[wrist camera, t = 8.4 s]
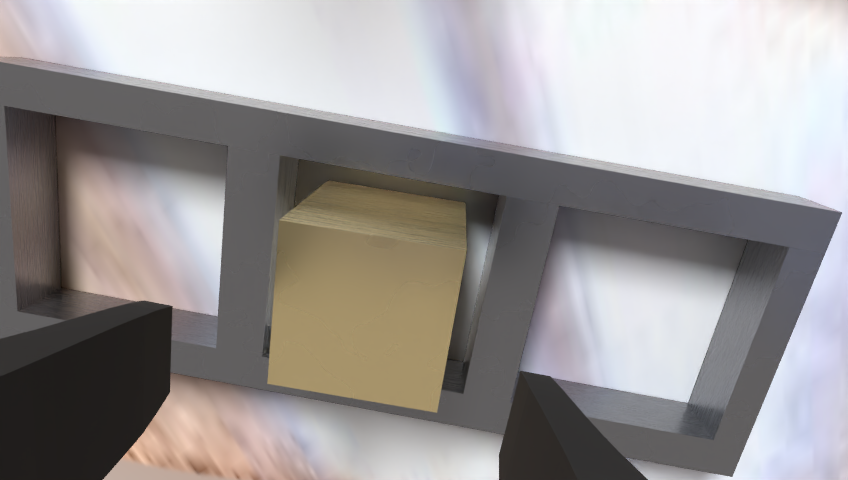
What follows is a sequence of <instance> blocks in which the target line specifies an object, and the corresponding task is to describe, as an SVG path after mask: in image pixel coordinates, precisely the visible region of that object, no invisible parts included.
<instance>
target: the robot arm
mask: <svg viewBox="0 0 848 480" xmlns="http://www.w3.org/2000/svg"><path fill="white" fill-rule="evenodd" d="M171 338H172V306H169V305H164V304H159V303H153V302H148V301H139V302H133V303H128V304H124V305H120V306H116V307H112V308H108V309H105V310H101V311H98V312H94V313H91V314H87V315H84V316H80V317H77V318H74V319H70V320H67V321H63V322H60V323H56V324H53V325H49V326H46V327H43V328H39V329H36V330H32V331H28V332H24V333H20V334H16V335H13V336H9V337H5V338H1V339H0V480H102V479H104V477H105V476H106V475H107V474H108V473H109V472H110V471H111V470H112V468H113V467H114V466H115V465H116V464H117V463H118V462H119V460H120V459H121V458H122V457H123V456H124V455H125V453H126V452H127V451H128V450H129V449H130V448H131V447H132V445H133V444H134V443H135V442H136V441H137V440H138V438H139V437H140V436H141V435H142V434H143V432H144V431H145V429H146V428H147V426H148V425H149V424H150V422H151V421H152V419H153V418H154V416H155V415H156V413H157V412H158V410H159V408H160V407H161V405H162V404H163V402H164V401H165V399H166V397H167V396H168V394H169V393H170V371H171ZM499 480H648V479H646V478H645V477H644V476H643V475H642V474H641V473H640V472H639V471H638V470H637V469H636V468H635V467H634V466H633V465H632V464H631V463H630V462H629V461H628V460H627V459H626V458H625V457H624V456H623V455H622V454H621V453H620V452H619V451H618V450H617V449H616V448H615V447H614V446H613V445H612V444H611V443H610V442H609V441H608V440H607V439H606V438H605V437H604V436H603V434H602V433H601V432H600V431H599V430H598V429H597V428H596V427H595V426H594V425H593V424H592V422H591V421H590V420H589V419H588V418H587V417H586V416H585V415H584V413H583V412H582V411H581V410H580V409H579V408H578V407H577V405H576V404H575V403H574V402H573V401H572V400H571V399H570V397H569V396H568V395H567V394H566V393H565V392H564V391H563V389H562V388H561V387H560V386H559V385H558V384H557V383H556V382H555V381H554V380H553V379H552V378H551V377H550V376H545V375H540V374H534V373H529V372H523V371H520V375H519V378H518V382H517V386H516V390H515V394H514V398H513V402H512V406H511V410H510V414H509V418H508V422H507V426H506V430H505V434H504V438H503V442H502V446H501V450H500V453H499Z"/></svg>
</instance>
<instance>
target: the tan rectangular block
mask: <svg viewBox="0 0 848 480" xmlns="http://www.w3.org/2000/svg"><path fill="white" fill-rule="evenodd" d="M466 253H467V236H466V203H465V202H459V201H453V200H447V199H441V198H435V197H429V196H422V195H416V194H410V193H404V192H398V191H392V190H385V189H379V188H373V187H367V186H361V185H355V184H349V183H342V182H336V181H330V180H328V181H327V182H325V183H324V184H323V185H322V186H320V187H319V188H318V189H317V190H315V191H314V192H313V193H312V194H311V195H309V196H308V197H307V198H306V199H304V200H303V201H302V202H301V203H299V204H298V205H297V206H296V207H295V208H293V209H292V210H291V211H290V212H288V213H287V214H286V215H285V216H283V217H282V218H281V219H280V220H279V229H278V243H277V257H276V271H275V285H274V299H273V312H272V326H271V340H270V354H269V368H268V382H267V384H272V385H278V386H283V387H289V388H295V389H301V390H307V391H313V392H319V393H325V394H330V395H336V396H342V397H348V398H354V399H360V400H366V401H371V402H377V403H383V404H389V405H395V406H401V407H407V408H413V409H418V410H424V411H430V412H436V413H437V410H438V405H439V399H440V394H441V388H442V383H443V378H444V372H445V367H446V361H447V356H448V350H449V345H450V340H451V334H452V329H453V323H454V318H455V313H456V307H457V302H458V296H459V291H460V285H461V280H462V275H463V269H464V264H465V258H466Z"/></svg>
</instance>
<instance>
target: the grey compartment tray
mask: <svg viewBox="0 0 848 480" xmlns="http://www.w3.org/2000/svg"><path fill="white" fill-rule="evenodd" d="M55 115H58V116H64V117H69V118H75V119H80V120H86V121H92V122H97V123H103V124H108V125H114V126H119V127H125V128H130V129H136V130H142V131H147V132H153V133H158V134H164V135H169V136H175V137H180V138H186V139H192V140H197V141H203V142H208V143H214V144H219V145H225V146H228V155H227V172H226V189H225V206H224V223H223V240H222V257H221V274H220V291H219V308H218V317H217V316H211V315H206V314H200V313H195V312H190V311H184V310H179V309H173V308H172V338H171V371H170V372H171V373H176V374H181V375H187V376H192V377H198V378H203V379H208V380H214V381H219V382H224V383H230V384H235V385H241V386H246V387H251V388H257V389H262V390H268V391H273V392H278V393H284V394H289V395H294V396H300V397H305V398H311V399H316V400H321V401H327V402H332V403H337V404H343V405H348V406H354V407H359V408H364V409H370V410H375V411H381V412H386V413H391V414H397V415H402V416H407V417H413V418H418V419H424V420H429V421H434V422H440V423H445V424H451V425H456V426H461V427H467V428H472V429H477V430H483V431H488V432H494V433H499V434H505V430H506V426H507V422H508V418H509V414H510V410H511V406H512V402H513V398H514V394H515V390H516V386H517V382H518V378H519V375H520V372H518V369H519V365H520V361H521V357H522V353H523V349H524V345H525V341H526V337H527V333H528V329H529V325H530V321H531V317H532V313H533V309H534V305H535V301H536V297H537V293H538V289H539V285H540V281H541V277H542V274H543V270H544V266H545V262H546V258H547V254H548V250H549V246H550V242H551V238H552V234H553V230H554V226H555V222H556V218H557V214H558V210H559V206H564V207H569V208H575V209H580V210H586V211H591V212H597V213H603V214H608V215H614V216H619V217H625V218H630V219H636V220H641V221H647V222H653V223H658V224H664V225H669V226H675V227H680V228H686V229H691V230H697V231H703V232H708V233H714V234H719V235H725V236H730V237H736V238H741V239H747V240H748V243H747V245H746V248H745V251H744V253H743V256H742V259H741V262H740V264H739V267H738V270H737V272H736V275H735V278H734V281H733V283H732V286H731V289H730V291H729V294H728V297H727V300H726V302H725V305H724V308H723V311H722V313H721V316H720V319H719V321H718V324H717V327H716V330H715V332H714V335H713V338H712V340H711V343H710V346H709V349H708V351H707V354H706V357H705V359H704V362H703V365H702V368H701V370H700V373H699V376H698V379H697V381H696V384H695V387H694V389H693V392H692V395H691V398H690V400H689V403H684V402H678V401H673V400H667V399H662V398H657V397H651V396H646V395H640V394H635V393H629V392H624V391H619V390H613V389H608V388H602V387H597V386H591V385H586V384H581V383H575V382H570V381H564V380H559V379H553V378H552V379H553V380H554V381H555V382H556V383H557V384H558V385H559V386H560V387H561V388H562V389H563V391H564V392H565V393H566V394H567V395H568V396H569V397H570V399H571V400H572V401H573V402H574V403H575V404H576V405H577V407H578V408H579V409H580V410H581V411H582V412H583V413H584V415H585V416H586V417H587V418H588V419H589V420H590V421H591V422H592V424H593V425H594V426H595V427H596V428H597V429H598V430H599V431H600V432H601V433H602V434H603V436H604V437H605V438H606V439H607V440H608V441H609V442H610V443H611V444H612V445H613V446H614V447H615V448H616V449H617V450H618V451H619V452H620V453H621V454H622V455H623V456H624V457H628V458H634V459H639V460H644V461H650V462H655V463H660V464H666V465H671V466H677V467H682V468H687V469H693V470H698V471H704V472H709V473H714V474H720V475H725V476H730V477H732V476H733V474H734V471H735V469H736V466H737V464H738V462H739V459H740V457H741V454H742V452H743V450H744V447H745V445H746V442H747V440H748V438H749V435H750V433H751V430H752V428H753V426H754V423H755V421H756V418H757V416H758V414H759V411H760V409H761V406H762V404H763V402H764V399H765V397H766V394H767V392H768V390H769V387H770V385H771V382H772V380H773V378H774V375H775V373H776V370H777V368H778V365H779V363H780V361H781V358H782V356H783V353H784V351H785V349H786V346H787V344H788V341H789V339H790V337H791V334H792V332H793V329H794V327H795V325H796V322H797V320H798V317H799V315H800V313H801V310H802V308H803V305H804V303H805V301H806V298H807V296H808V293H809V291H810V289H811V286H812V284H813V281H814V279H815V277H816V274H817V272H818V269H819V267H820V265H821V262H822V260H823V257H824V255H825V253H826V250H827V248H828V245H829V243H830V241H831V238H832V236H833V233H834V231H835V229H836V226H837V224H838V221H839V219H840V216H841V214H842V212H839V211H837V210H834V209H831V208H829V207H826V206H823V205H821V204H818V203H815V202H812V201H810V200H807V199H804V198H802V197H799V196H793V195H788V194H782V193H777V192H771V191H765V190H760V189H754V188H749V187H743V186H737V185H732V184H726V183H721V182H715V181H709V180H704V179H698V178H693V177H687V176H681V175H676V174H670V173H665V172H659V171H654V170H648V169H642V168H637V167H631V166H626V165H620V164H614V163H609V162H603V161H598V160H592V159H586V158H581V157H575V156H570V155H564V154H558V153H553V152H547V151H542V150H536V149H530V148H525V147H519V146H514V145H508V144H502V143H497V142H491V141H486V140H480V139H475V138H469V137H463V136H458V135H452V134H447V133H441V132H435V131H430V130H424V129H419V128H413V127H407V126H402V125H396V124H391V123H385V122H379V121H374V120H368V119H363V118H357V117H351V116H346V115H340V114H335V113H329V112H323V111H318V110H312V109H307V108H301V107H296V106H290V105H284V104H279V103H273V102H268V101H262V100H256V99H251V98H245V97H240V96H234V95H228V94H223V93H217V92H212V91H206V90H200V89H195V88H189V87H184V86H178V85H172V84H167V83H161V82H156V81H150V80H144V79H139V78H133V77H128V76H122V75H117V74H111V73H105V72H100V71H94V70H89V69H83V68H77V67H72V66H66V65H61V64H55V63H49V62H44V61H38V60H33V59H27V58H20V57H0V339H1V338H5V337H9V336H13V335H16V334H20V333H24V332H28V331H32V330H36V329H39V328H43V327H46V326H49V325H53V324H56V323H60V322H63V321H67V320H70V319H74V318H77V317H80V316H84V315H87V314H91V313H94V312H98V311H101V310H105V309H108V308H112V307H116V306H120V305H124V304H128V303H133V302H135V301H130V300H124V299H119V298H114V297H108V296H103V295H97V294H92V293H86V292H81V291H76V290H70V289H65V288H61V270H60V243H59V216H58V189H57V162H56V135H55ZM299 159H303V160H308V161H314V162H319V163H325V164H330V165H336V166H342V167H347V168H353V169H358V170H364V171H369V172H375V173H380V174H386V175H391V176H397V177H403V178H408V179H414V180H419V181H425V182H430V183H436V184H441V185H447V186H453V187H458V188H464V189H469V190H475V191H480V192H486V193H491V194H497V195H499V198H498V203H497V207H496V212H495V217H494V221H493V226H492V231H491V235H490V240H489V244H488V249H487V254H486V258H485V263H484V268H483V272H482V277H481V282H480V286H479V291H478V295H477V300H476V305H475V309H474V314H473V319H472V323H471V328H470V333H469V337H468V342H467V346H466V351H465V356H464V360H463V362H461V361H456V360H450V359H447V361H446V367H445V372H444V378H443V383H442V388H441V394H440V399H439V405H438V410H437V413H436V412H430V411H424V410H418V409H413V408H407V407H401V406H395V405H389V404H383V403H377V402H371V401H366V400H360V399H354V398H348V397H342V396H336V395H330V394H325V393H319V392H313V391H307V390H301V389H295V388H289V387H283V386H278V385H272V384H267V382H268V368H269V354H270V340H271V326H272V312H273V299H274V285H275V271H276V257H277V243H278V229H279V220H280V219H281V218H282V217H283V216H285V215H286V214H287V213H288V212H290V211H291V210H292V209H293V208H294V202H295V192H296V182H297V172H298V162H299Z"/></svg>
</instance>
